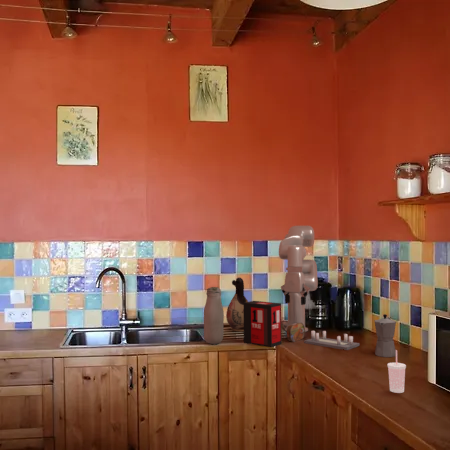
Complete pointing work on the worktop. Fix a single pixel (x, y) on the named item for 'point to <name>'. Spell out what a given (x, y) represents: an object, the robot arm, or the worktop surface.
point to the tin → (295, 332)
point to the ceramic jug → (237, 307)
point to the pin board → (332, 341)
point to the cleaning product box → (262, 323)
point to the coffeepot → (385, 337)
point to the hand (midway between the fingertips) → (295, 303)
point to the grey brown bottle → (213, 316)
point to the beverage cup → (396, 376)
